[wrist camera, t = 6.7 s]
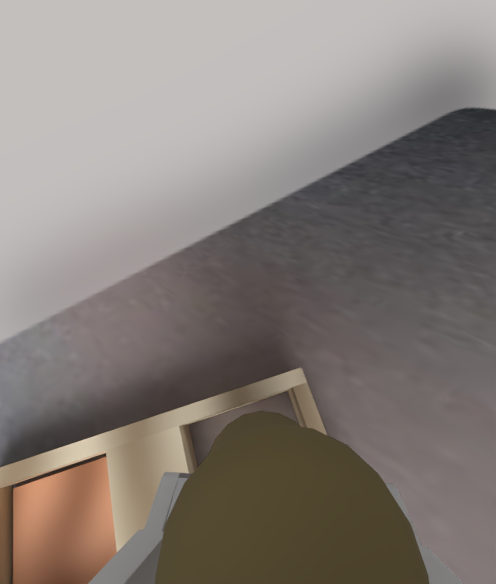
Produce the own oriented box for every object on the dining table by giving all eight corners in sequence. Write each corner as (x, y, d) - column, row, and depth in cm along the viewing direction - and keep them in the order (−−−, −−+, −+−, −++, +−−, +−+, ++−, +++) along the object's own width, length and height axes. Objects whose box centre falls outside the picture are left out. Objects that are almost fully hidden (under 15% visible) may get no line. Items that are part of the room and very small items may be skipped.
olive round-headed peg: (189, 436, 15) (69, 477, 5) (295, 393, 16) (375, 356, 6) (226, 578, 13) (146, 1150, 3) (347, 521, 14) (618, 807, 4)
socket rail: (295, 373, 22) (301, 367, 19) (349, 520, 19) (366, 538, 16) (-3, 473, 20) (-44, 482, 17) (-7, 664, 16) (-60, 714, 13)
